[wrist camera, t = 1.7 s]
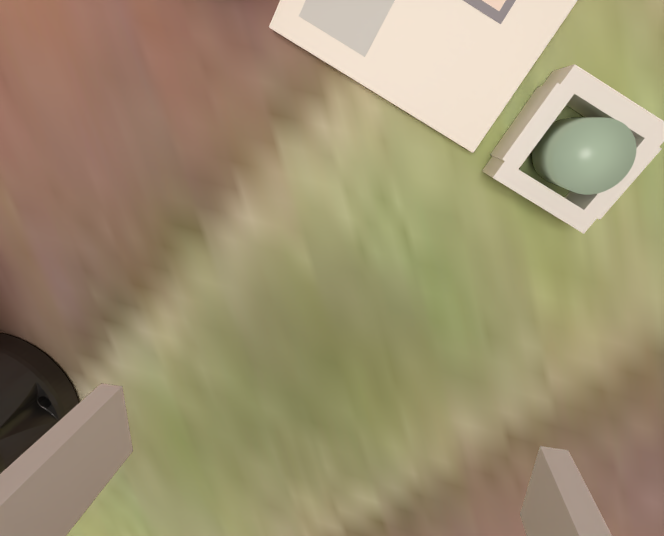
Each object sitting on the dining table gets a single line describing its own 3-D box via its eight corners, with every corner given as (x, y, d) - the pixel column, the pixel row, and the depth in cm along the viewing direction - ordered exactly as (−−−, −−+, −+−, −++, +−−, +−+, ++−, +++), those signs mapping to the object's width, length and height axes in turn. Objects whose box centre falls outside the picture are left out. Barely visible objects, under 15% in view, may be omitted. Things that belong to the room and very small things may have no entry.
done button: (518, 163, 27) (538, 170, 23) (562, 104, 26) (590, 102, 22) (570, 195, 27) (598, 207, 24) (617, 139, 26) (654, 142, 22)
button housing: (479, 169, 29) (490, 176, 26) (549, 69, 26) (571, 62, 23) (565, 222, 29) (586, 235, 26) (643, 128, 27) (677, 130, 23)
